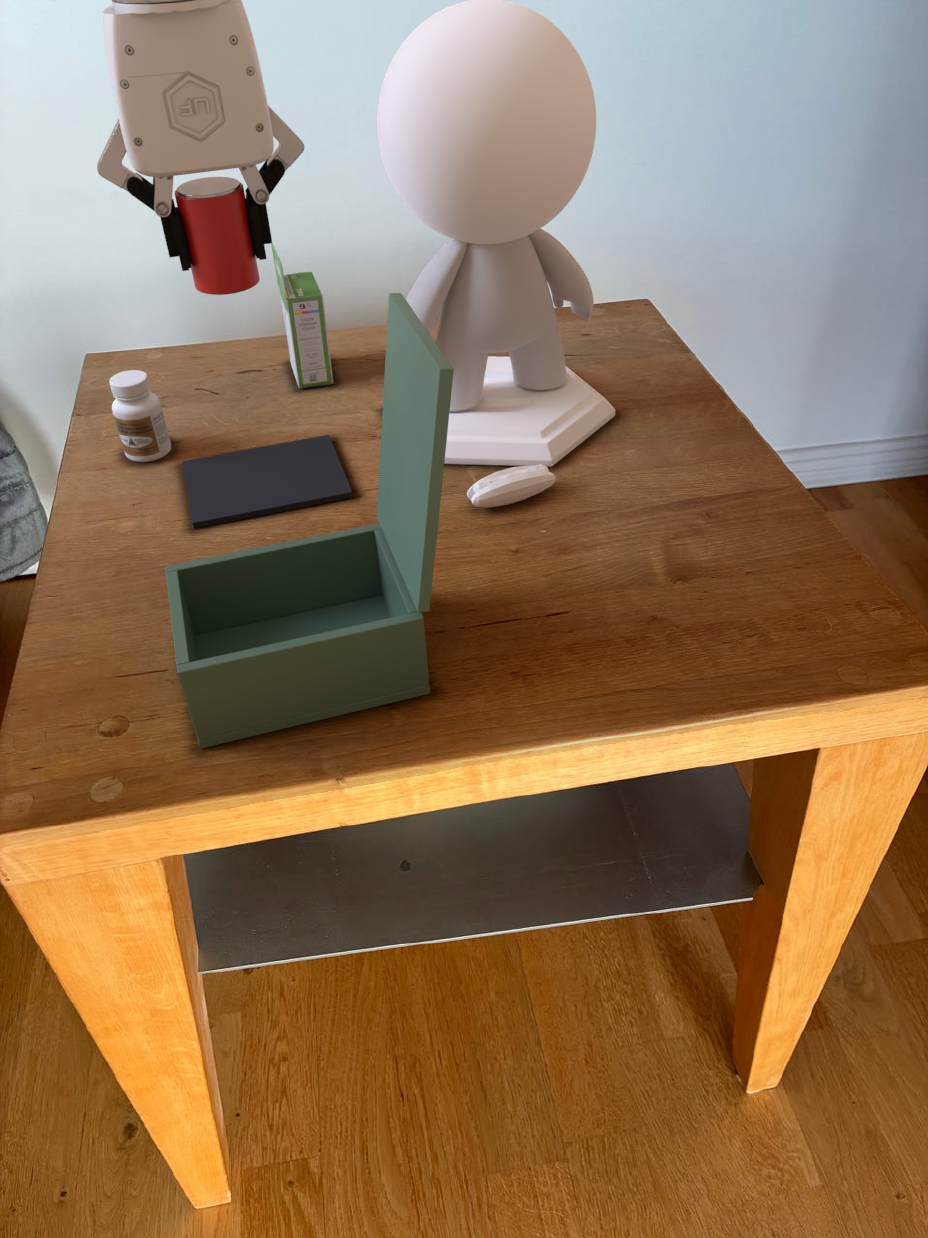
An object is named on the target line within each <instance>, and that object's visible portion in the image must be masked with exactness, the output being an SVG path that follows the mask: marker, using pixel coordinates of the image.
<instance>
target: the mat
mask: <svg viewBox="0 0 928 1238" xmlns="http://www.w3.org/2000/svg"><path fill="white" fill-rule="evenodd" d="M182 469H183V474H184V480H185V486H186V493H187V498H188V505H189V511H190V517H191V525H192V527H193V529H199V528H204V527H210V526H215V525H219V524H225V523H229V522H230V523H231V522H234V521H240V520H245V519H251V518H255V517H261V516H266V515H271V514H277V513H281V512H287V511H292V510H296V509H301V508H307V507H311V506H312V507H313V506H316V505H317V506H318V505H321V504H322V505H323V504H327V503H331V502H338V501H343V500H348V499H352V498H354V492H353V490H352V487H351V485H350V483H349V480H348V477H347V475H346V473H345V470H344V467H343V466H342V463H341V460H340V458H339V455H338V453H337V450H336V448H335V445H334V443H333V441H332V439H331V436H330V434H324V435H319V436H314V437H307V438H302V439H297V440H292V441H286V442H281V443H275V444H269V445H263V446H258V447H253V448H248V449H247V448H246V449H242V450H236V451H230V452H226V453H225V452H224V453H219V454H214V455H209V456H203V457H198V458H191V459H187V460H182Z"/></svg>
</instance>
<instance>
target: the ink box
mask: <svg viewBox="0 0 928 1238" xmlns="http://www.w3.org/2000/svg"><path fill="white" fill-rule="evenodd" d="M270 246H271V252H272V257H273V263H274V268H275V275H276V280H277V287H278V291H279V296H280V302H281V310H282V315H283V321H284V322H283V323H284V326H285V334H286V339H287V345H288V346H287V347H288V352H289V362H290V366H291V369H292V373H293V375H294V378H295V380H296V385H297V387H298V388H299V389H305V388H306V389H307V388H311V387H323V386H329V385H332V384H334V383H335V381H334V378H333V377H334V376H333V369H332V359H331V352H330V345H329V344H330V343H329V336H328V335H329V334H328V327H327V320H326V319H327V318H326V312H325V311H326V310H325V303H324V296H323V293H322V291H321V289H320V287H319V285H318V282H317V280H316V277H315V275H314V273H313V271H304V272H303V271H302V272H301V271H299V272H294V273H288V274H284V269H283V263H282V260H281V258H280V257H279V254H278V252H277V251H276V248H275V245H274V243H273V242H272V243H270Z"/></svg>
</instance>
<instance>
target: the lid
mask: <svg viewBox="0 0 928 1238" xmlns="http://www.w3.org/2000/svg"><path fill="white" fill-rule="evenodd" d="M387 307H388V309H387V322H386V323H387V324H386V343H385V357H384V378H383V395H382V412H381V413H382V415H381V432H380V434H381V435H380V449H379V452H380V453H379V468H378V484H377V485H378V486H377V501H376V504H377V505H376V519H377V522H378V523H379V524H380V526H381V528H382V531H383V533H384V535H385V538H386V540H387V542H388V545H389V547H390V549H391V552H392V554H393V556H394V559H395V561H396V563H397V566H398V568H399V570H400V572H401V575H402V577H403V579H404V582H405V584H406V586H407V589H408V591H409V593H410V596H411V598H412V600H413V603H414V605H415V607H416V610H417V612H421V613H426V612H428V613H429V612H430V609H431V597H432V589H433V579H434V570H435V569H434V568H435V560H436V559H435V558H436V549H437V539H438V530H439V529H438V528H439V519H440V509H441V501H442V491H443V481H444V471H445V470H444V469H445V464H444V461H445V451H446V441H447V431H448V422H449V412H450V402H451V392H452V382H453V372H454V369H453V367H452V366H451V365H450V363H449V362H448V360H447V359H446V357H445V356H444V354H443V353H442V352H441V350H440V349H439V347H438V346H437V344H436V343H435V339H433V337H432V335H431V334H429V333H428V331H427V330H426V328H425V327H424V326H423V324H422V323H421V321H420V320H419V318H418V317H417V315H416V314H415V312H414V311H413V310H412V308H411V307H410V305H409V304H408V302H407V301H406V298H405V297H404V295H403V294H402V293H401V292H388V306H387Z"/></svg>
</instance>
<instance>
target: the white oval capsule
mask: <svg viewBox="0 0 928 1238" xmlns="http://www.w3.org/2000/svg"><path fill="white" fill-rule="evenodd" d="M556 479H557V478H556V475H555V474H554V473H553V472H552V471H550V470H549V467H547V466H545V465H542V464H540V465H537V466H535V465H529V466H513V467H512V466H511V467H510V468H509V467H508V468H504V469H502V470H498V471H494V472H493V473H491V474H489V475H487V476H484V477H483V478H481V479H480V478H479V480H477V481H476V482H475V483H473V484H472V485H471V486H470V487H469V489H468V490H467V492H466V496H467V499H468V500H470V502H471V503H472V505H473V506H474V507H475V508H487V509H491V508H496V507H503V506H509V505H512V504H515V503H518V502H522V501H525V500H527V499H529V498H531V497H533V496H535V495H538V494H540V493H542V492H544V491H545V490H547V489H548V488H551V487H552V486H553V485H554V484H555V482H556Z"/></svg>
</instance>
